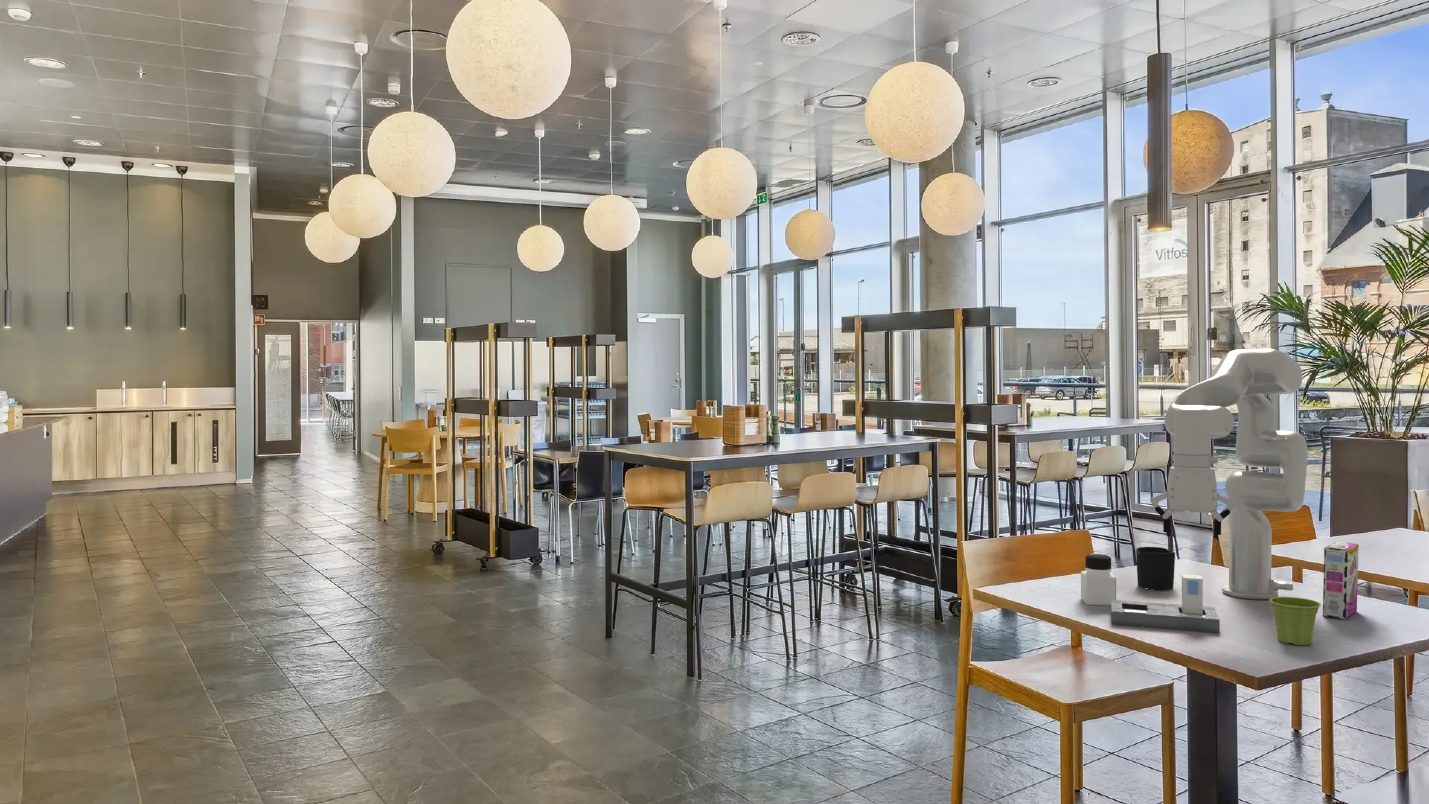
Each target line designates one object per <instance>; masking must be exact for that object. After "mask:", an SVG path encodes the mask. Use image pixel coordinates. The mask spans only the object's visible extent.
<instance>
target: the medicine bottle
mask: <svg viewBox="0 0 1429 804" xmlns="http://www.w3.org/2000/svg"><path fill="white" fill-rule="evenodd" d="M1084 558H1085V562H1084V564H1085V567H1084V568H1085V569H1084V570H1082V571H1080V599H1081V600H1082V601H1083V602H1084V604H1085V605H1086V606H1109V607H1111V599H1113V600H1117V577H1115V576H1114V575H1113V573H1112V557H1111V556H1110V555H1108V554H1104V553H1088V554H1087V555H1086V556H1085V557H1084Z"/></svg>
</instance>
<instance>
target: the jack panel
mask: <svg viewBox="0 0 1429 804" xmlns="http://www.w3.org/2000/svg"><path fill="white" fill-rule="evenodd" d="M1110 607H1111V610H1110V611H1111V613H1110V615H1111V625H1114V624H1117V626H1126V625H1127V626H1128V627H1138V626H1144V627H1143V628H1150V627H1152V628H1153V629H1164V630H1175V629H1176V630H1175V631H1187V630H1188V632H1198V633H1199V632H1203V633H1211V632H1216V633H1215V634H1220V624H1221V623H1220V621H1221V620H1220V618H1219V615H1218V613H1217V610H1216V608H1215V606H1209V605H1208V606H1205V605H1203V615H1198V614H1185V613H1182V603H1167V602H1166V603H1165V602H1152V601H1138V600H1125V599H1116V600H1113V599H1111V606H1110ZM1118 624H1120V625H1118ZM1152 628H1151V629H1152ZM1177 629H1178V630H1177ZM1179 629H1180V630H1179Z"/></svg>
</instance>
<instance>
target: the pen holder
mask: <svg viewBox="0 0 1429 804" xmlns="http://www.w3.org/2000/svg"><path fill="white" fill-rule="evenodd" d="M1135 553H1136V554H1135V555H1136V556H1135V557H1136V577H1137V586H1138V587H1139V586H1140V587H1139V588H1141V587H1142V588H1141V589H1144V588H1148V589H1154V590H1153V591H1157V590H1166V591H1171V590H1173V588H1174V584H1175V565H1176V563H1175V562H1176V561H1175V560H1176V552H1174V551H1173V552H1172V551H1170V549H1168V548H1165V547H1161V546H1160V547H1159V546H1141V547H1139V546H1138V547H1136V550H1135ZM1148 589H1147V590H1148ZM1170 589H1171V590H1170Z"/></svg>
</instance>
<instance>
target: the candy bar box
mask: <svg viewBox="0 0 1429 804" xmlns="http://www.w3.org/2000/svg"><path fill="white" fill-rule="evenodd" d="M1359 546H1360V545H1359V544H1358V543H1353V542H1345V541H1344V542H1343V541H1335V542H1334V543H1331V544H1329V545H1327V546H1324V548H1323V551H1324V552H1323V586H1322V588H1323V591H1322V594H1323V595H1322V617H1325V618H1330V619H1336V620H1337V619H1338V620H1347V619H1349V617H1351V616H1352V615H1353V614H1355V613H1356V612H1357V610H1358V584H1359V583H1358V581H1359V580H1358V578H1359V577H1358V575H1359V549H1360V548H1359Z"/></svg>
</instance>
